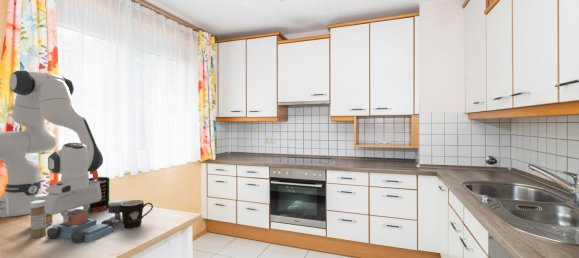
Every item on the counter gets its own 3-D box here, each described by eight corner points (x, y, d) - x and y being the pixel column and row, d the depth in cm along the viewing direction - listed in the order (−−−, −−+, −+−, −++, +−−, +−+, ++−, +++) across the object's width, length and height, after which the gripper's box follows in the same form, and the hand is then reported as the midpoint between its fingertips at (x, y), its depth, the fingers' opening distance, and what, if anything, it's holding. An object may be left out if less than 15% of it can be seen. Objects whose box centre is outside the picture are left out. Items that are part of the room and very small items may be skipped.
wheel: (104, 212, 120) (104, 203, 120) (118, 207, 127) (118, 199, 127) (117, 214, 118) (117, 204, 118) (130, 209, 125) (130, 200, 125)
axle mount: (106, 223, 121) (106, 212, 120) (118, 219, 126) (118, 208, 126) (117, 225, 119) (117, 214, 119) (128, 220, 125) (128, 210, 125)
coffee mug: (117, 230, 113) (117, 206, 113) (124, 223, 122) (124, 200, 121) (149, 228, 116) (149, 204, 116) (153, 220, 125) (153, 198, 124)
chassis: (43, 237, 106) (42, 227, 106) (79, 224, 119) (79, 215, 119) (83, 244, 101) (83, 233, 101) (116, 229, 114) (116, 220, 114)
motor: (94, 214, 133) (94, 172, 132) (79, 212, 134) (78, 171, 134) (112, 207, 143) (112, 168, 142) (97, 206, 144) (97, 168, 144)
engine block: (63, 224, 109) (63, 211, 109) (76, 219, 114) (76, 207, 114) (75, 225, 107) (75, 213, 107) (87, 221, 112) (87, 209, 112)
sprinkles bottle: (36, 233, 109) (36, 199, 109) (49, 233, 110) (49, 199, 109) (27, 238, 105) (26, 203, 104) (40, 238, 105) (39, 202, 105)
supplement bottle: (39, 228, 114) (39, 197, 114) (27, 227, 116) (27, 196, 115) (56, 223, 121) (56, 193, 120) (45, 221, 122) (44, 192, 122)
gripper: (93, 178, 121) (93, 209, 121) (41, 189, 101) (41, 226, 102) (105, 179, 119) (105, 211, 120) (53, 190, 100) (54, 228, 100)
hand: (75, 218), depth 111 cm, fingers closed on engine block, 5 cm apart
